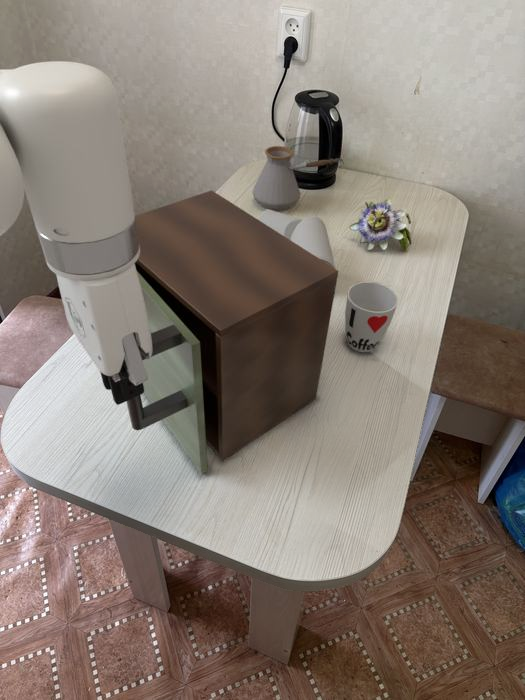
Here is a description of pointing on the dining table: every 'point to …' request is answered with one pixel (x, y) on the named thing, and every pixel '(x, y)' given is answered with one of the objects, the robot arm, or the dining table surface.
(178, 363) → the cabinet door
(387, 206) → the passion flower
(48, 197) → the robot arm
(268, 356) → the cabinet
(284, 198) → the coffee pot
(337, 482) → the dining table surface
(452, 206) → the dining table surface
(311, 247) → the elbow connector
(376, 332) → the cup
